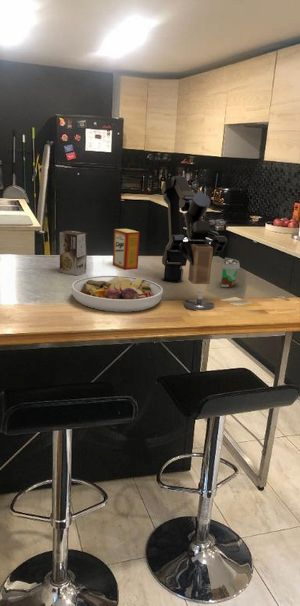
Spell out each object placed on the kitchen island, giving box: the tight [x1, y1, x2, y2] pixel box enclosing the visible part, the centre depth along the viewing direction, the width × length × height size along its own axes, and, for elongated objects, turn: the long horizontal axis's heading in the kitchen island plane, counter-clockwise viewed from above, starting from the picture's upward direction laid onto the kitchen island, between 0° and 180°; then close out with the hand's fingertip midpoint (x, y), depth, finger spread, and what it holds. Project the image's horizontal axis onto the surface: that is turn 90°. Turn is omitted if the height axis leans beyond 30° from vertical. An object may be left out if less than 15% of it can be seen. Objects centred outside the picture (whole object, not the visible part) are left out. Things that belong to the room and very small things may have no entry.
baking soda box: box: [112, 228, 141, 271], centre depth 210 cm, size 10×6×16 cm
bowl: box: [71, 275, 164, 313], centre depth 163 cm, size 30×30×8 cm
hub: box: [183, 291, 215, 312], centre depth 162 cm, size 10×10×5 cm
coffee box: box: [59, 230, 88, 276], centre depth 195 cm, size 9×6×16 cm
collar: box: [187, 244, 214, 285], centre depth 161 cm, size 6×6×12 cm
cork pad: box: [220, 296, 253, 307], centre depth 170 cm, size 8×8×1 cm
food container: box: [220, 257, 241, 289], centre depth 190 cm, size 12×6×10 cm, turn 168°
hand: (201, 264), depth 160 cm, fingers closed on collar, 6 cm apart
